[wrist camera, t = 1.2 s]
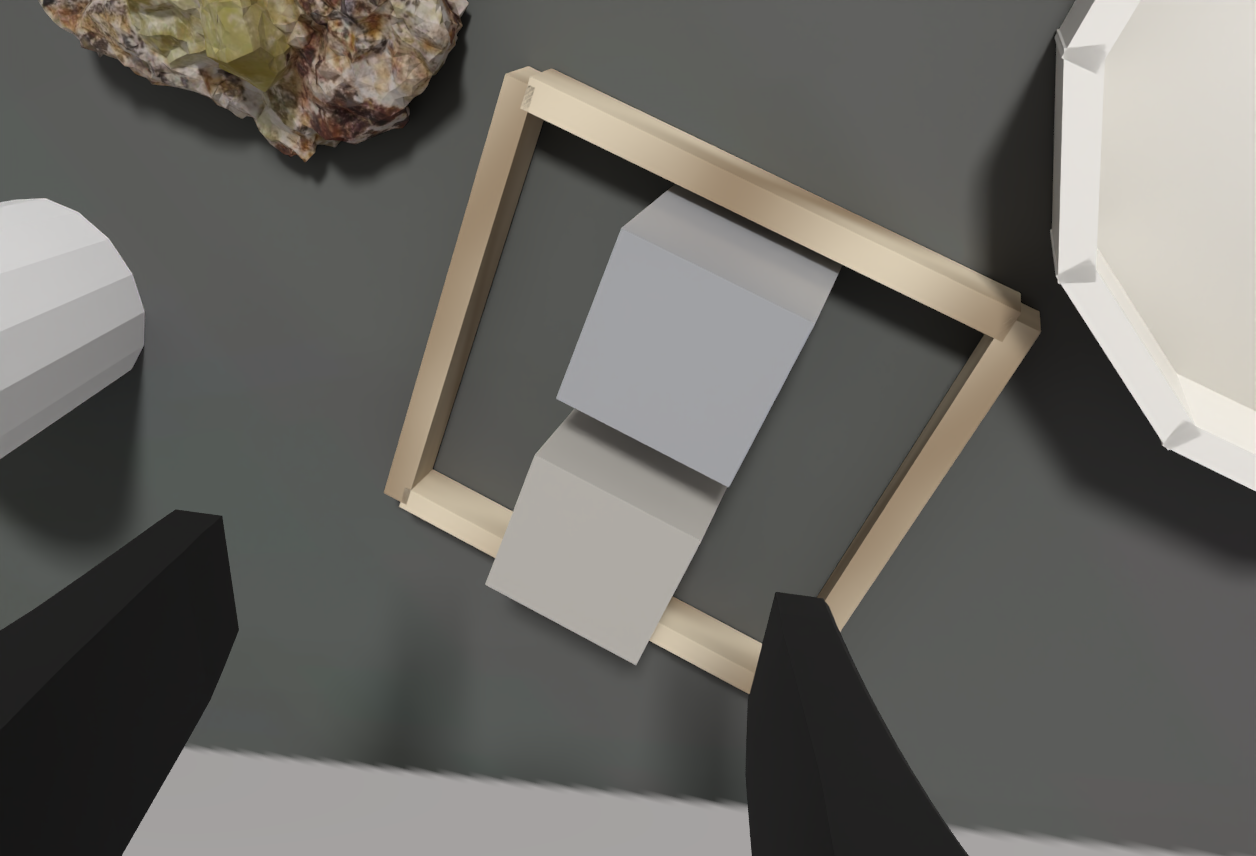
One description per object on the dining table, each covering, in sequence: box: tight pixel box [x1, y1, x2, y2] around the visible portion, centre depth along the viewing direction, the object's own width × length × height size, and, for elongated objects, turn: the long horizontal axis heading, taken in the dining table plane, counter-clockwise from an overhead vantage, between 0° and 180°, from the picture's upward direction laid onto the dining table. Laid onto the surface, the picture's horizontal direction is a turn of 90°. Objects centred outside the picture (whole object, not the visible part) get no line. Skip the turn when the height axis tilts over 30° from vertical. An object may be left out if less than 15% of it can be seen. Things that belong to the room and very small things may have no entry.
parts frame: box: [384, 66, 1041, 694], centre depth 24 cm, size 12×12×1 cm
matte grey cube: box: [556, 184, 842, 487], centre depth 22 cm, size 4×4×4 cm
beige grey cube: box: [485, 408, 727, 665], centre depth 24 cm, size 4×4×4 cm
